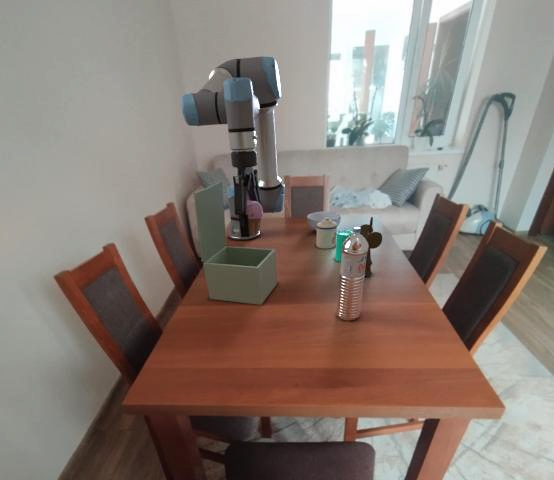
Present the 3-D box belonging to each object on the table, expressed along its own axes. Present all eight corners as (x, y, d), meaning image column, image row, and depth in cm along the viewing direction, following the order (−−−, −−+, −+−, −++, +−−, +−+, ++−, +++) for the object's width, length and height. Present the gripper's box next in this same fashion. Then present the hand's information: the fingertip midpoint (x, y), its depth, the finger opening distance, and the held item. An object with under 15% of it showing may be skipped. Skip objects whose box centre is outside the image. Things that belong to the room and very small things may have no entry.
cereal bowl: (308, 225, 173) (308, 211, 169) (339, 225, 171) (340, 210, 167) (305, 235, 160) (305, 220, 156) (340, 235, 158) (341, 219, 154)
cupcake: (234, 232, 110) (230, 199, 104) (259, 228, 112) (256, 196, 106) (242, 239, 103) (239, 204, 97) (268, 235, 106) (266, 201, 100)
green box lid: (222, 182, 102) (220, 181, 103) (196, 193, 90) (193, 192, 90) (226, 245, 115) (224, 244, 115) (203, 262, 103) (201, 261, 103)
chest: (277, 283, 118) (275, 249, 110) (261, 304, 106) (258, 267, 98) (230, 279, 123) (225, 246, 115) (209, 299, 111) (202, 263, 103)
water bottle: (345, 323, 94) (354, 233, 79) (331, 313, 99) (337, 227, 84) (364, 317, 97) (376, 228, 81) (350, 308, 101) (359, 222, 86)
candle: (351, 257, 135) (354, 226, 127) (347, 262, 131) (350, 231, 123) (337, 255, 137) (339, 225, 129) (333, 260, 133) (335, 229, 125)
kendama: (367, 269, 125) (374, 212, 112) (377, 279, 117) (386, 219, 105) (352, 270, 124) (358, 214, 111) (361, 281, 116) (368, 221, 104)
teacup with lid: (336, 248, 144) (338, 220, 136) (315, 249, 144) (316, 221, 137) (335, 240, 153) (337, 213, 146) (315, 240, 154) (316, 213, 146)
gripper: (240, 154, 85) (249, 243, 99) (268, 146, 101) (272, 223, 115) (214, 154, 87) (226, 242, 101) (245, 146, 103) (252, 223, 117)
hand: (251, 232), depth 108 cm, fingers closed on cupcake, 9 cm apart
